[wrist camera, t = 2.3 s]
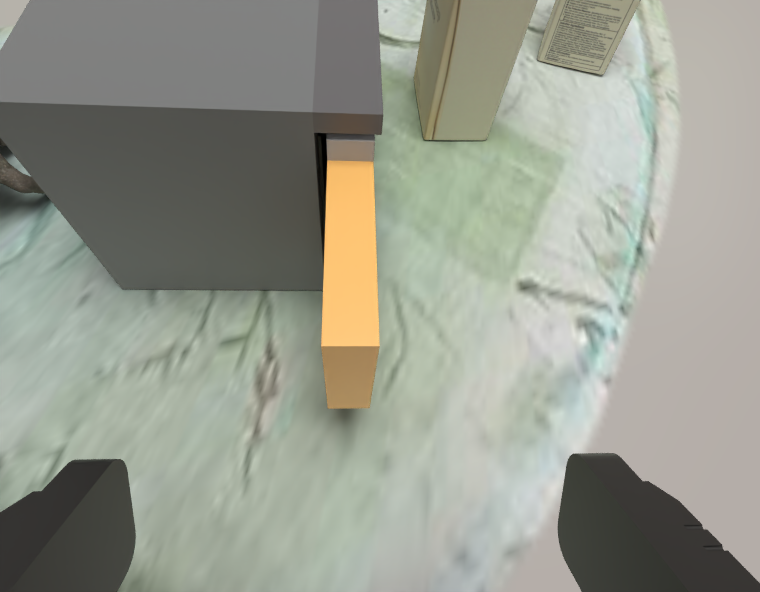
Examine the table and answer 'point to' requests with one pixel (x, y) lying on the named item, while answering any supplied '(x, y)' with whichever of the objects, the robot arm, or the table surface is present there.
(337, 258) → the door
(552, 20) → the skincare box
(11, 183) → the dog figurine
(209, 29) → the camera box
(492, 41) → the skincare box
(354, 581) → the table surface
